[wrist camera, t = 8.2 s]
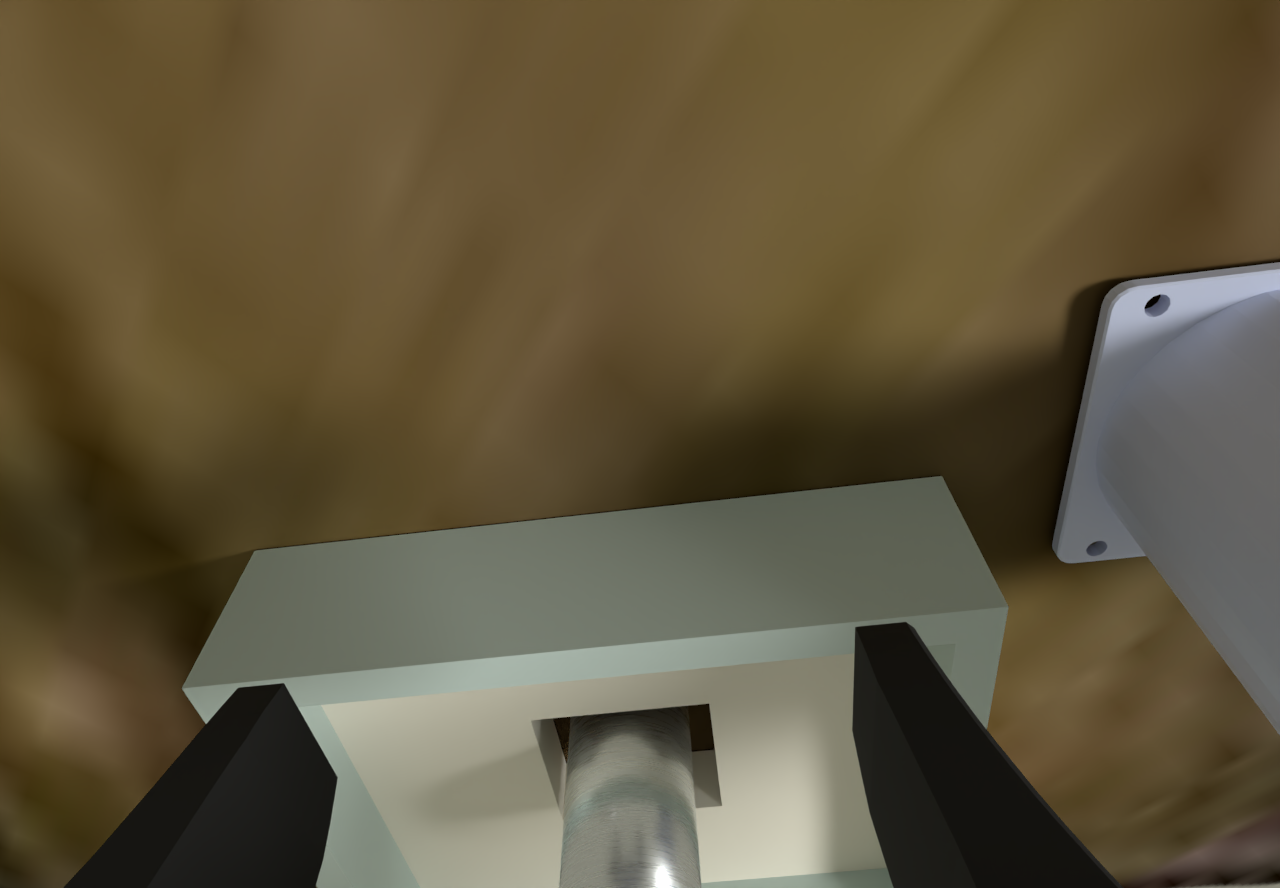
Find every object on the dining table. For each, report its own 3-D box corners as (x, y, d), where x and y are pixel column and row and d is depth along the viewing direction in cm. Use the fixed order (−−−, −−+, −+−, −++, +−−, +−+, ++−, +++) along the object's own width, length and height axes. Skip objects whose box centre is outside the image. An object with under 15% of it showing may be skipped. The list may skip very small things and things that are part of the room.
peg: (683, 656, 25) (700, 892, 19) (690, 732, 27) (708, 967, 21) (563, 665, 25) (544, 902, 19) (579, 740, 27) (567, 975, 21)
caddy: (941, 475, 21) (1008, 606, 18) (906, 824, 30) (945, 958, 27) (254, 550, 22) (181, 688, 19) (420, 865, 31) (394, 999, 28)
